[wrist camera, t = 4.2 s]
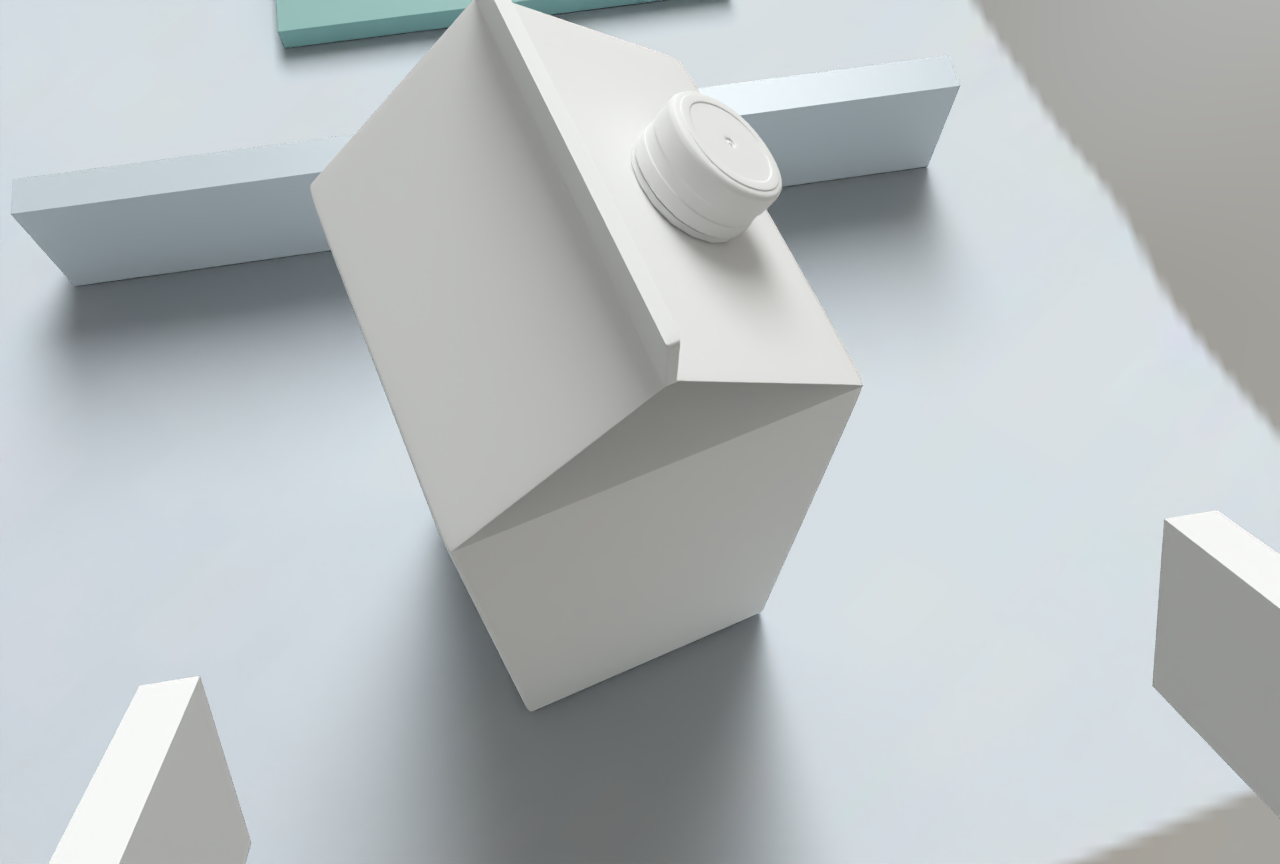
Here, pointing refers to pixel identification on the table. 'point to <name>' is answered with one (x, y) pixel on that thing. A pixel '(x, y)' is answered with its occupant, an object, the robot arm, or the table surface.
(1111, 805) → the table surface
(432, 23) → the teal board
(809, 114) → the acrylic wall
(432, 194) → the milk carton
